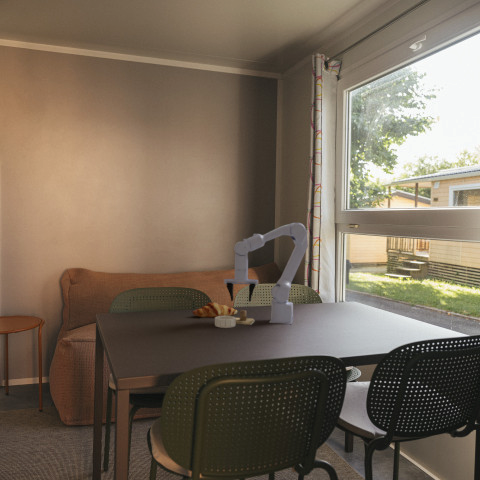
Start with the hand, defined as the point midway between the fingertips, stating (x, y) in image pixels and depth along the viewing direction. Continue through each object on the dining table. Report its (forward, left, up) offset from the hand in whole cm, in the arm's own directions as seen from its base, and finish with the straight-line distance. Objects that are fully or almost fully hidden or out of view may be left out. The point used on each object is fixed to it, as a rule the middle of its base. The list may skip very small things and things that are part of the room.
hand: (241, 300), depth 194 cm
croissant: (+14, -9, -10) cm, 19 cm away
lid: (-1, +1, -9) cm, 9 cm away
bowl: (+5, +9, -9) cm, 14 cm away
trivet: (-1, +1, -9) cm, 9 cm away
